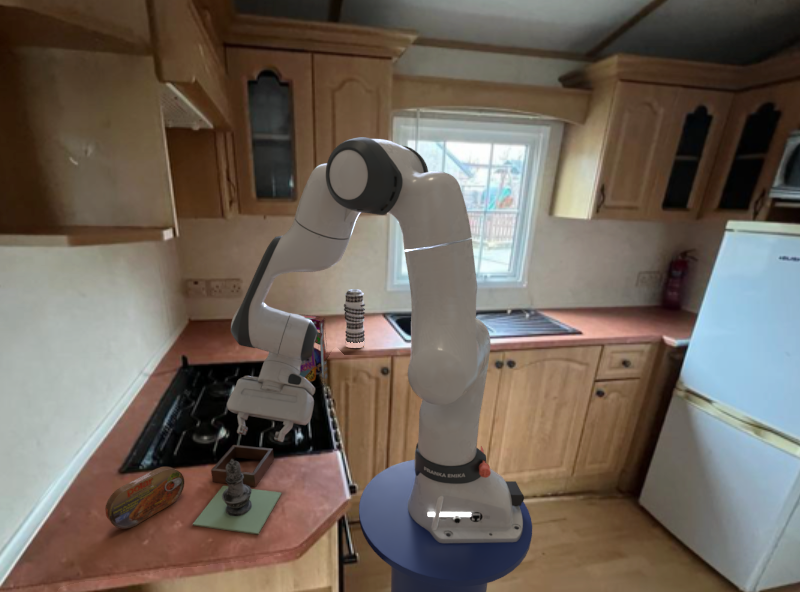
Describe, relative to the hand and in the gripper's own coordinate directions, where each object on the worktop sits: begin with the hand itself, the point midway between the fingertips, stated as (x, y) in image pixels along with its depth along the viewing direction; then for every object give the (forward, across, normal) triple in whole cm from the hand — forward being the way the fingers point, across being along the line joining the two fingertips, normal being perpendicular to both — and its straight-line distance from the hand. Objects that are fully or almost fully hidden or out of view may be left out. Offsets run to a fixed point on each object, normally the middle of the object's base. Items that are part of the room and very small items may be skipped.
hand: (259, 437), depth 91 cm
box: (-28, -20, +45) cm, 57 cm away
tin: (+20, -17, -3) cm, 26 cm away
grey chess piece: (+15, 0, +1) cm, 15 cm away
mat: (+15, 0, +1) cm, 15 cm away
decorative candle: (-59, -12, +75) cm, 96 cm away
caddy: (+7, -7, +10) cm, 14 cm away
